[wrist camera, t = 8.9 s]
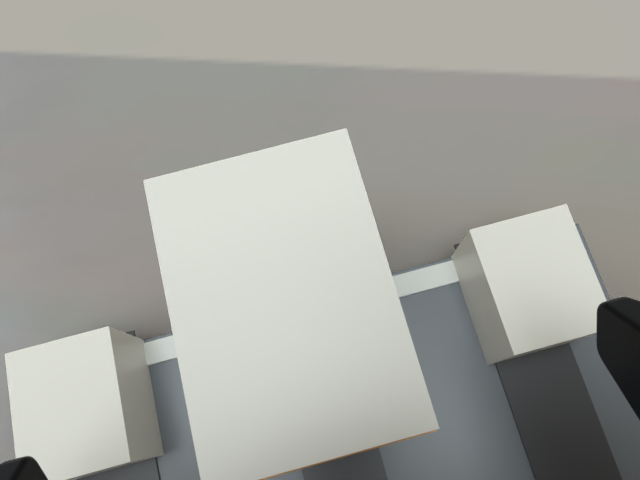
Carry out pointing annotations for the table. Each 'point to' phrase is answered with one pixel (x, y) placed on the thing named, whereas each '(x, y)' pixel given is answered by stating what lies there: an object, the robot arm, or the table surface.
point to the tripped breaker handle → (284, 311)
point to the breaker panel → (435, 361)
